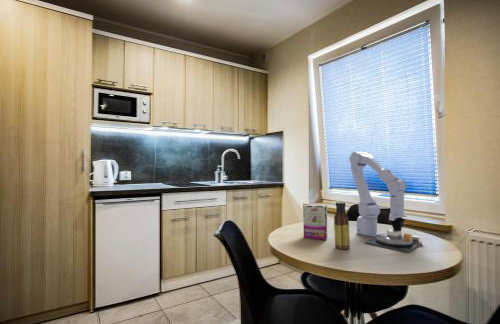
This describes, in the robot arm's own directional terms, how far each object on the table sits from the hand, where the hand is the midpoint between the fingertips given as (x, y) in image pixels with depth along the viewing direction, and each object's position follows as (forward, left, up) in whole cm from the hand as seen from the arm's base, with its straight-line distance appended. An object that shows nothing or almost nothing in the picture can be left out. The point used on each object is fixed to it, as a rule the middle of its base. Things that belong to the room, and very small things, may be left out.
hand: (397, 233), depth 126 cm
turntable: (0, -5, -3) cm, 6 cm away
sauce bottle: (-13, -28, -4) cm, 31 cm away
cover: (0, -4, -1) cm, 4 cm away
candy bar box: (-30, -23, -4) cm, 38 cm away
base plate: (0, -5, -4) cm, 6 cm away
